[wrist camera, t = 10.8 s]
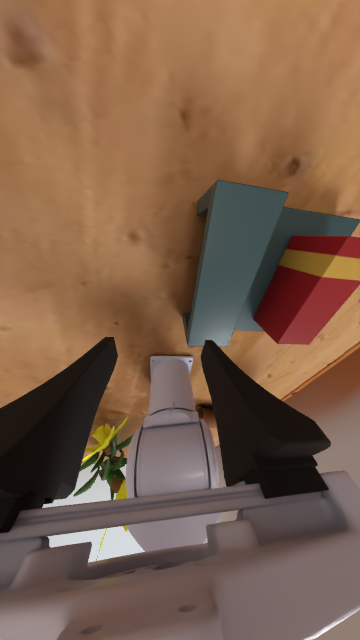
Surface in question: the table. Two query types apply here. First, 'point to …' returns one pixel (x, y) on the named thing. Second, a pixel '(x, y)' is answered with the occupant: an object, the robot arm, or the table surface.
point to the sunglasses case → (207, 416)
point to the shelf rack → (245, 255)
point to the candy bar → (309, 287)
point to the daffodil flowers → (107, 462)
